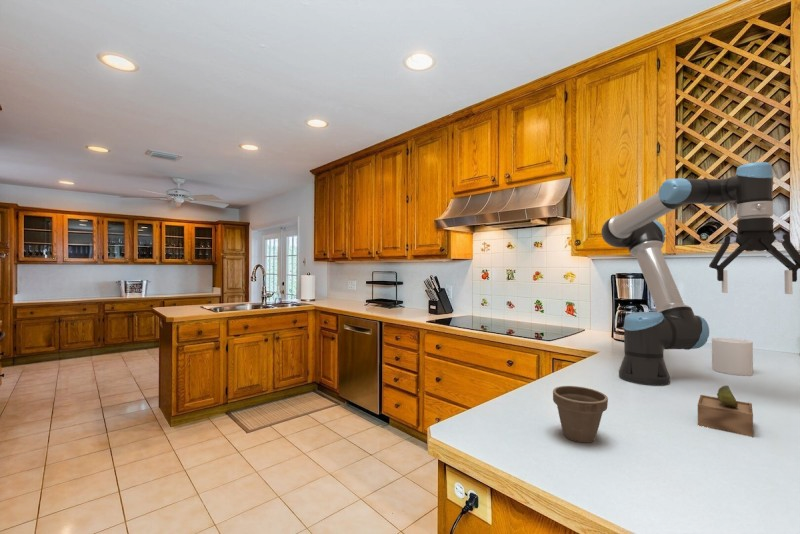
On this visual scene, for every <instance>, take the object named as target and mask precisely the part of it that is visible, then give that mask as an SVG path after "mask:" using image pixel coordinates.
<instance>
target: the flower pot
mask: <svg viewBox="0 0 800 534" xmlns="http://www.w3.org/2000/svg"><path fill="white" fill-rule="evenodd" d="M552 400H553V403H554V404H555V405H556V408H557V413H558V415H559V421H560V426H561V428H562V430H561V431H562V432H563V435H564V436H565V437H566V438H567V439H569V440H570V441H574V442H578V443H592V442H594V440H595V439H596V437H597V435H598V434H597V433H598V432H599V431H598V430H599V427H600V423H601V421H602V417H603V413H604V412H605V411H607V409H608V404H609V403H608V400H609V398H608V396H607V395H606V394H605V393H603V392H600V391H598V390H596V389H593V388H590V387H589V388H588V387H585V386H576V385H575V386H574V385H561V386H557V387H554V389H553V390H552Z"/></svg>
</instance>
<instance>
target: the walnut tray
mask: <svg viewBox="0 0 800 534" xmlns="http://www.w3.org/2000/svg"><path fill="white" fill-rule="evenodd" d="M736 402H737V405H738V407H736V408H733V407H729V406H727V405H725V404H723V403H721V402H720V401H719V399H718V396H717V397H716V396H709V395H703V394H700V396H699V399H698V402H697V426H698V425H699V427H702V426H704V427H703V428H707V427H708V429H713V430H717V431H720V432H721V431H722V432H727V433H731V434H736V435H741V436H746V437H751V438H754V413H753V412H754V411H753V403H752V402H745V401H738V400H736Z"/></svg>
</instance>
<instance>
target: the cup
mask: <svg viewBox="0 0 800 534" xmlns="http://www.w3.org/2000/svg"><path fill="white" fill-rule="evenodd" d="M753 343H754V342H753V341H751V340H747V339H742V338H733V337H732V338H731V337H712V338H711V368H712V371H713V372H717V373H720V374H725V375H732V376H738V377H739V376H741V377H751V376H753V374H754V350H753V349H754V348H753V347H754V346H753V345H754V344H753Z"/></svg>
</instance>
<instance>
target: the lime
mask: <svg viewBox="0 0 800 534" xmlns="http://www.w3.org/2000/svg"><path fill="white" fill-rule="evenodd" d="M716 396H717V398H718V399H719V401H720V402H721V403H723V404H725V405H727V406H729V407H733V408H736V407H738V405H737V402H736V401H737V400H736V398H735V395H734V394H733V392H732V390H731V388H730V387H729V385H722V386H721V387H719V388H718V390H717V393H716Z"/></svg>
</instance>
